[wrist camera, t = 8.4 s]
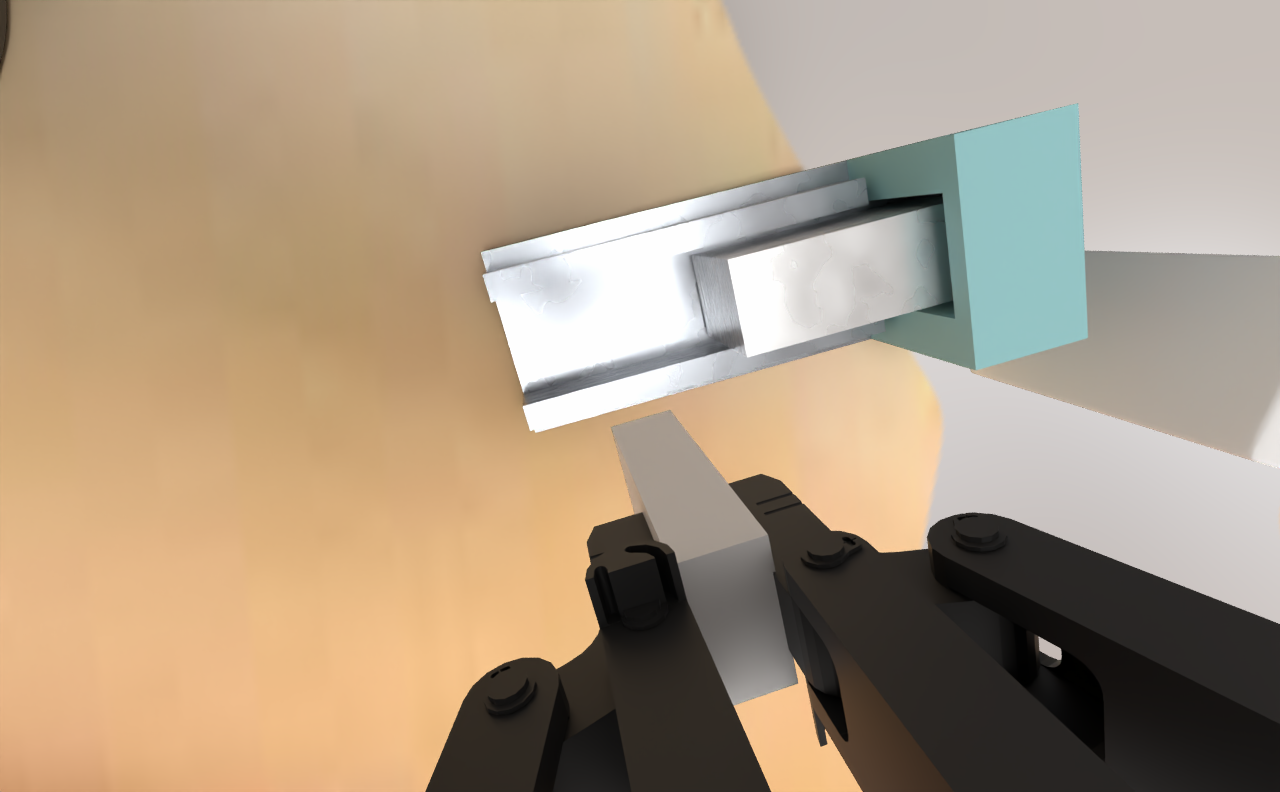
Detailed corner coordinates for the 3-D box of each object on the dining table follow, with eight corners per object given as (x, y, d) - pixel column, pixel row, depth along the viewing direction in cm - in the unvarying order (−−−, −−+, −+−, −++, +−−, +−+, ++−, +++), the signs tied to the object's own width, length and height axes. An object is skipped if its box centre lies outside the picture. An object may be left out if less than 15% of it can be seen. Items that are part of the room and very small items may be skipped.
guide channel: (483, 251, 30) (475, 253, 27) (923, 140, 33) (974, 128, 29) (535, 424, 33) (535, 449, 29) (941, 310, 35) (991, 320, 31)
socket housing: (846, 160, 31) (953, 134, 23) (941, 136, 31) (1078, 103, 23) (871, 338, 33) (976, 370, 25) (958, 314, 34) (1088, 337, 26)
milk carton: (1116, 281, 36) (1696, 327, 18) (1067, 398, 38) (1561, 550, 20) (1013, 248, 35) (1536, 261, 17) (966, 371, 36) (1401, 507, 18)
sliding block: (690, 252, 30) (728, 257, 25) (919, 193, 32) (1009, 183, 26) (708, 336, 32) (748, 360, 26) (929, 276, 33) (1016, 285, 27)
